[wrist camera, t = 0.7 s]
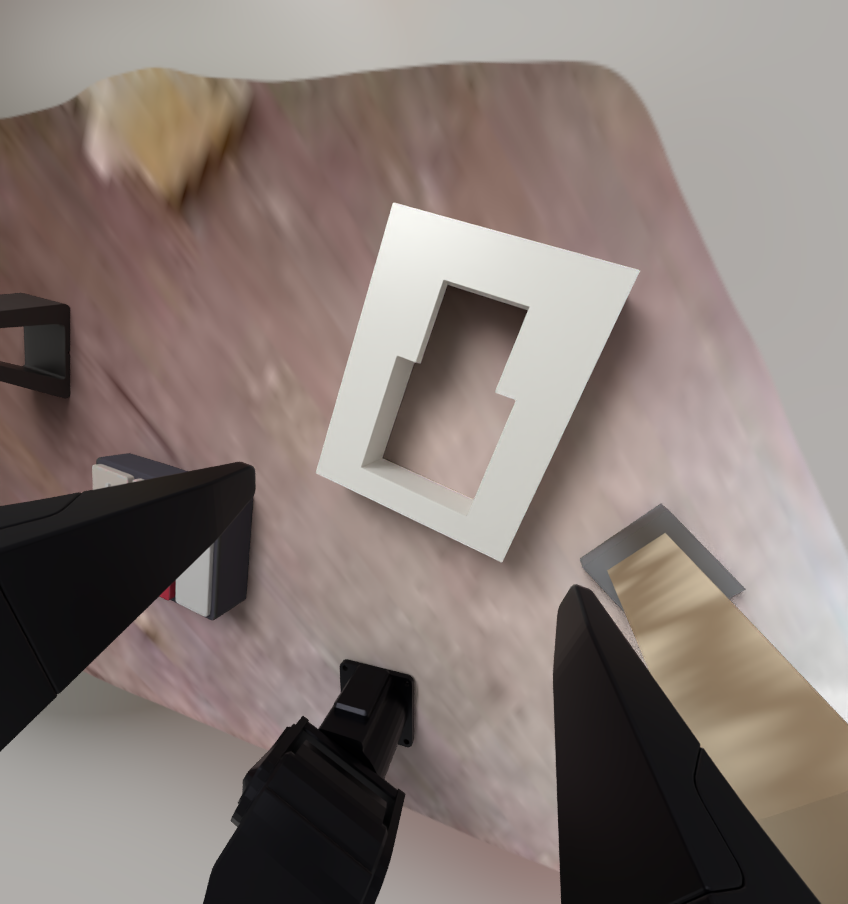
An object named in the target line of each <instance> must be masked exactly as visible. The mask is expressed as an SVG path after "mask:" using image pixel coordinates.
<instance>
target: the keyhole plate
mask: <svg viewBox="0 0 848 904" xmlns="http://www.w3.org/2000/svg"><path fill="white" fill-rule="evenodd" d="M639 271H640V270H637V269H633V268H630V267H626V266H623V265H619V264H615V263H612V262H608V261H604V260H601V259H597V258H593V257H590V256H586V255H582V254H579V253H575V252H572V251H568V250H564V249H561V248H557V247H553V246H550V245H546V244H542V243H539V242H535V241H532V240H528V239H524V238H521V237H517V236H513V235H510V234H506V233H502V232H499V231H495V230H491V229H488V228H484V227H481V226H477V225H473V224H470V223H466V222H462V221H459V220H455V219H451V218H448V217H444V216H440V215H437V214H433V213H430V212H426V211H422V210H419V209H415V208H411V207H408V206H404V205H400V204H397V203H393V205H392V209H391V212H390V216H389V219H388V223H387V226H386V230H385V233H384V236H383V240H382V243H381V247H380V250H379V254H378V257H377V261H376V264H375V268H374V271H373V275H372V278H371V282H370V285H369V289H368V292H367V296H366V299H365V303H364V306H363V310H362V313H361V317H360V320H359V324H358V327H357V331H356V334H355V338H354V341H353V345H352V348H351V352H350V355H349V359H348V362H347V366H346V369H345V373H344V376H343V380H342V383H341V387H340V390H339V394H338V397H337V401H336V404H335V408H334V411H333V415H332V418H331V422H330V425H329V429H328V432H327V436H326V439H325V443H324V446H323V450H322V453H321V457H320V460H319V464H318V467H317V471H316V473H317V474H319V475H321V476H323V477H325V478H327V479H329V480H331V481H334V482H336V483H338V484H340V485H342V486H344V487H346V488H348V489H350V490H352V491H354V492H356V493H358V494H361V495H363V496H365V497H367V498H369V499H371V500H373V501H375V502H377V503H379V504H381V505H383V506H385V507H388V508H390V509H392V510H394V511H396V512H398V513H400V514H402V515H404V516H406V517H408V518H410V519H412V520H414V521H417V522H419V523H421V524H423V525H425V526H427V527H429V528H431V529H433V530H435V531H437V532H439V533H441V534H444V535H446V536H448V537H450V538H452V539H454V540H456V541H458V542H460V543H462V544H464V545H466V546H468V547H471V548H473V549H475V550H477V551H479V552H481V553H483V554H485V555H487V556H489V557H491V558H493V559H495V560H498V561H500V562H503V559H504V557H505V555H506V553H507V551H508V549H509V547H510V545H511V543H512V540H513V538H514V536H515V534H516V532H517V530H518V528H519V526H520V523H521V521H522V519H523V517H524V515H525V513H526V511H527V509H528V507H529V504H530V502H531V500H532V498H533V496H534V494H535V492H536V490H537V487H538V485H539V483H540V481H541V479H542V477H543V475H544V473H545V471H546V468H547V466H548V464H549V462H550V460H551V458H552V456H553V454H554V451H555V449H556V447H557V445H558V443H559V441H560V439H561V437H562V435H563V432H564V430H565V428H566V426H567V424H568V422H569V420H570V418H571V415H572V413H573V411H574V409H575V407H576V405H577V403H578V401H579V399H580V396H581V394H582V392H583V390H584V388H585V386H586V384H587V382H588V379H589V377H590V375H591V373H592V371H593V369H594V367H595V365H596V363H597V360H598V358H599V356H600V354H601V352H602V350H603V348H604V346H605V343H606V341H607V339H608V337H609V335H610V333H611V331H612V329H613V327H614V324H615V322H616V320H617V318H618V316H619V314H620V312H621V310H622V307H623V305H624V303H625V301H626V299H627V297H628V295H629V293H630V291H631V288H632V286H633V284H634V282H635V280H636V278H637V276H638V274H639ZM447 285H450V286H453V287H456V288H460V289H463V290H466V291H469V292H472V293H475V294H478V295H482V296H485V297H488V298H491V299H494V300H497V301H500V302H504V303H507V304H510V305H513V306H516V307H519V308H522V309H526V310H528V312H527V314H526V317H525V319H524V322H523V324H522V327H521V329H520V332H519V334H518V337H517V339H516V341H515V344H514V346H513V349H512V351H511V354H510V356H509V359H508V361H507V364H506V366H505V369H504V371H503V374H502V376H501V378H500V381H499V383H498V386H497V388H496V391H495V392H496V393H498V394H501V395H504V396H506V397H509V398H511V399H514V400H516V402H515V404H514V406H513V409H512V411H511V413H510V416H509V418H508V420H507V423H506V425H505V428H504V430H503V432H502V435H501V437H500V439H499V442H498V444H497V446H496V449H495V451H494V453H493V456H492V458H491V461H490V463H489V465H488V468H487V470H486V472H485V475H484V477H483V479H482V482H481V484H480V486H479V489H478V491H477V494H476V496H475V498H474V499H472V498H470V497H468V496H466V495H463V494H461V493H459V492H457V491H454V490H452V489H450V488H448V487H446V486H443V485H441V484H439V483H437V482H434V481H432V480H430V479H428V478H426V477H423V476H421V475H419V474H417V473H414V472H412V471H410V470H408V469H406V468H403V467H401V466H399V465H397V464H394V463H392V462H390V461H388V460H386V459H383V455H384V452H385V449H386V446H387V443H388V440H389V437H390V434H391V431H392V428H393V425H394V422H395V419H396V416H397V413H398V410H399V407H400V404H401V401H402V398H403V395H404V392H405V389H406V386H407V383H408V380H409V377H410V374H411V371H412V368H413V365H414V362H416V363H420V364H421V361H422V358H423V355H424V352H425V349H426V346H427V343H428V341H429V338H430V335H431V332H432V329H433V326H434V323H435V320H436V317H437V314H438V311H439V308H440V305H441V302H442V299H443V297H444V294H445V291H446V288H447Z"/></svg>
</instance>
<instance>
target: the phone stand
mask: <svg viewBox="0 0 848 904" xmlns="http://www.w3.org/2000/svg"><path fill="white" fill-rule="evenodd" d="M22 326H24V346H25V365H24V366H18V365H14V364H10V363H6V362H2V361H0V381H2V382H6V383H9V384H13V385H17V386H21V387H24V388H28V389H32V390H35V391H39V392H43V393H47V394H50V395H54V396H58V397H62V398H68V397H70V355H69V354H68V351H70V308H69V306H68V305H66V304H63V303H59V302H55V301H51V300H47V299H44V298H40V297H36V296H32V295H28V294H24V293H14V294H2V295H0V328H7V327H22Z"/></svg>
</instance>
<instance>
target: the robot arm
mask: <svg viewBox="0 0 848 904" xmlns="http://www.w3.org/2000/svg"><path fill="white" fill-rule="evenodd" d="M255 489H256V485H255V469H254V467H253V466H251V465H249V464H246V463H243V462H235V463H230V464H225V465H220V466H214V467H209V468H204V469H199V470H194V471H188V472H183V473H178V474H173V475H167V476H162V477H157V478H152V479H147V480H141V481H136V482H131V483H126V484H120V485H115V486H110V487H105V488H100V489H94V490H89V491H84V492H82V493H79V492H78V493H73V494H68V495H63V496H58V497H52V498H46V499H41V500H35V501H30V502H24V503H17V504H11V505H5V506H0V751H1V750H2V749H3V748H4V747H5V746H7V744H9V743H10V742H11V741H12V740H13V739H14V738H15V737H16V736H17V735H18V734H19V733H20V732H21V731H22V730H23V729H24V728H25V727H26V726H27V725H28V724H29V723H30V722H31V721H32V720H33V719H34V718H35V717H36V716H37V715H38V714H39V713H40V712H41V711H42V710H43V709H44V708H45V707H47V705H48V704H50V703H51V702H52V701H53V700H54V699H55V698H56V697H57V694H59V693H60V692H62V691H63V690H64V689H65V688H66V687H67V686H68V685H69V684H70V683H71V682H72V681H73V680H74V679H75V678H76V677H77V676H78V675H79V674H80V673H81V672H82V671H83V670H84V669H85V668H86V667H87V666H88V665H89V664H90V663H91V662H92V661H93V660H94V659H95V658H96V657H97V656H98V655H99V654H100V653H102V652H103V651H104V650H105V649H106V648H107V647H108V646H109V645H110V644H111V643H112V642H113V641H114V640H115V639H116V638H117V637H118V636H119V635H120V634H121V633H122V632H123V631H124V630H125V629H126V628H127V627H128V626H129V625H130V624H131V623H132V622H133V621H134V620H135V619H136V618H137V617H138V616H139V615H140V614H141V613H143V612H144V611H145V610H146V609H147V608H148V607H149V606H150V605H151V604H152V603H153V602H154V601H155V600H156V599H157V598H158V597H159V596H160V595H161V594H162V593H163V592H164V591H165V590H166V589H167V588H168V587H169V586H170V585H171V584H172V583H173V582H174V581H175V580H176V579H177V578H178V577H179V576H180V575H181V574H182V573H183V572H185V571H186V570H187V569H188V568H189V567H190V566H191V565H192V564H193V563H194V562H195V561H196V560H197V559H198V558H199V557H200V556H201V555H202V554H203V553H204V552H205V551H206V550H207V549H208V548H209V547H210V546H211V545H212V544H213V543H214V542H215V541H216V540H217V539H218V538H219V537H220V536H221V535H222V533H223V532H224V531H225V530H226V529H227V528H228V526H229V525H230V524H231V523H232V522H233V520H234V519H235V518H236V517H237V516H238V514H239V513H240V512H241V511H242V510H243V509H244V507H245V506H246V505H247V504H248V503H249V501H250V500H251V499H252V498H253V496H254V494H255ZM346 666H347V667H346ZM406 681H407V682H408V683H407V682H406ZM340 685H341V693H340V695H339V696H338V698H337V699H336V701H335V703H334V705H333V707H332V708H331V710H330V712H329V713H328V715H327V716H326V718H325V719H324V721H323V723H322V724H321V726H320V727H319V729H317V728H316V727H315V726H313V725H312V724H311V723H309V722H308V721H309V720H308V719H307V718H305V717H304V716H302V717H301V719H300V720H299V721H298V722H297V724H296V725H295V724H293V725H292V726H291V727H286V729H285V730H284V732H283V733H282V734H281V736H280V737H279V738H278V740H277V741H276V742H275V744H274V745H273V746H272V747H271V749H270V750H269V751H268V752H267V753H266V754H265V755H264V756H263V757H262V758H261V759H260V760H259V761H258V762H257V763H256V764H255V765H254V766H253V767H252V768H251V769H250V770H249V771H248V773H247V774H246V776H245V778H244V779H243V793H242V796H241V798H240V800H239V802H238V804H239V805H238V807H237V808H236V810H235V812H234V814H233V816H232V819H231V822H232V823H234V824H235V825H236V826H237V827H238V828H237V829H236V831H235V832H234V834H233V836H232V837H231V839H230V840H229V842H228V843H227V845H226V847H225V848H224V850H223V851H222V853H221V854H220V856H219V858H218V859H217V861H216V863H215V864H214V866H213V868H212V872H211V874H210V878H209V882H208V886H207V890H206V894H205V898H204V902H203V904H375V902H376V899H377V896H378V894H379V891H380V889H381V886H382V884H383V881H384V878H385V875H386V872H387V869H388V866H389V863H390V860H391V856H392V852H393V847H394V843H395V838H396V834H397V829H398V825H399V820H400V816H401V811H402V807H403V802H404V798H405V793H404V792H402V791H401V790H400V789H398V790H397V789H396V788H394V787H393V786H392V785H391V784H389V783H388V782H387V781H385V780H384V779H385V776H386V773H387V771H388V768H389V766H390V763H391V760H392V758H393V755H394V752H395V750H396V747H397V745H402V746H405V747H411V746H412V743H413V740H414V680H413V678H412V677H411V676H410V675H408V674H404V673H400V672H396V671H391V670H387V669H383V668H379V667H375V666H371V665H367V664H363V663H359V662H355V661H351V660H347V659H345V660H343V662H342V663H341V664H340ZM553 696H554V723H555V750H556V777H557V804H558V831H559V858H560V884H561V885H560V886H561V904H821V902H820V901H819V900H818V899H817V897H816V896H815V895H814V894H813V892H812V891H811V890H810V888H809V887H808V886H807V885H806V883H805V882H804V881H803V880H802V878H801V877H800V876H799V874H798V873H797V872H796V871H795V869H794V868H793V867H792V866H791V864H790V863H789V862H788V860H787V859H786V858H785V857H784V855H783V854H782V853H781V852H780V850H779V849H778V848H777V846H776V845H775V844H774V842H773V841H772V840H771V839H770V837H769V836H768V835H767V833H766V832H765V831H764V829H763V828H762V827H761V826H760V824H759V823H758V822H757V820H756V819H755V818H754V816H753V815H752V814H751V813H750V811H749V810H748V809H747V807H746V806H745V805H744V803H743V802H742V801H741V799H740V798H739V796H738V795H737V794H736V792H735V791H734V790H733V788H732V787H731V785H730V784H729V783H728V781H727V780H726V779H725V777H724V776H723V775H722V773H721V772H720V770H719V769H718V768H717V766H716V765H715V763H714V762H713V761H712V759H711V758H710V756H709V755H708V753H707V752H706V751H705V749H704V748H702V747H700V742H699V741H698V740H697V738H696V737H695V735H694V734H693V732H692V731H691V730H690V728H689V727H688V725H687V724H686V723H685V721H684V720H683V718H682V717H681V716H680V714H679V713H678V711H677V710H676V709H675V707H674V706H673V704H672V703H671V701H670V700H669V699H668V697H667V696H666V694H665V693H664V692H663V690H662V689H661V687H660V686H659V685H658V683H657V682H656V680H655V679H654V677H653V676H652V675H651V673H650V672H649V670H648V669H647V668H646V666H645V665H644V663H643V662H642V661H641V659H640V658H639V656H638V655H637V653H636V652H635V651H634V649H633V648H632V646H631V645H630V644H629V642H628V641H627V639H626V638H625V637H624V635H623V634H622V632H621V631H620V629H619V628H618V627H617V625H616V624H615V622H614V621H613V620H612V618H611V617H610V615H609V614H608V613H607V611H606V610H605V608H604V607H603V605H602V604H601V603H600V601H599V600H598V598H597V597H596V596H595V594H594V593H593V592H592V591H591V590H590V589H588V588H585V587H583V586H580V585H577V584H575V585H573V586H571V588H570V589H569V591H568V593H567V594H566V596H565V597H564V599H563V601H562V602H561V604H560V606H559V609H558V614H557V626H556V639H555V652H554V665H553Z"/></svg>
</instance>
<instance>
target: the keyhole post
mask: <svg viewBox="0 0 848 904" xmlns="http://www.w3.org/2000/svg"><path fill="white" fill-rule="evenodd" d="M580 561H581V564H582V567H583V568H584V569H585V571H586V572H587V573H588V574H589V575H590V576H591V577H592V578H593V579H594V580H595V581H596V582H597V583H598V585H599V586H600V587H601V588H602V589H603V590H604V591H605V592H606V593H607V594H608V595H609V596H610V597H611V599H612V600H613V601H614V602H615V603H616V604H617V605H618V606H619V607H620V608H621V609H622V610H623V611H624V613H625V614H626V617H627V619H628V621H629V624H630V626H631V628H632V631H633V633H634V635H635V638H636V640H637V643H638V645H639V647H640V650H641V652H642V654H643V657H644V659H645V662H646V664H647V666H648V669H649V671H650V673H651V675H652V676H653V677H654V679H655V680H656V682H657V683H658V685H659V686H660V687H661V689H662V690H663V692H664V693H665V694H666V696H667V697H668V699H669V700H670V701H671V703H672V704H673V706H674V707H675V709H676V710H677V711H678V713H679V714H680V716H681V717H682V718H683V720H684V721H685V723H686V724H687V725H688V727H689V728H690V730H691V731H692V732H693V734H694V735H695V737H696V738H697V740H698V741H699V742H700V747H702V748H704V749H705V751H706V752H707V753H708V755H709V756H710V758H711V759H712V761H713V762H714V763H715V765H716V766H717V768H718V769H719V770H720V772H721V773H722V775H723V776H724V777H725V779H726V780H727V781H728V783H729V784H730V785H731V787H732V788H733V790H734V791H735V792H736V794H737V795H738V796H739V798H740V799H741V801H742V802H743V803H744V805H745V806H746V807H747V809H748V810H749V811H750V813H751V814H752V815H753V816H754V818H755V819H756V820H757V822H758V823H759V824H760V826H761V827H762V828H763V829H764V831H765V832H766V833H767V835H768V836H769V837H770V839H771V840H772V841H773V842H774V844H775V845H776V846H777V848H778V849H779V850H780V852H781V853H782V854H783V855H784V857H785V858H786V859H787V860H788V862H789V863H790V864H791V866H792V867H793V868H794V869H795V871H796V872H797V873H798V874H799V876H800V877H801V878H802V880H803V881H804V882H805V883H806V885H807V886H808V887H809V888H810V890H811V891H812V892H813V894H814V895H815V896H816V897H817V899H818V900H819V901H820V902H821V904H848V724H847V722H846V721H845V720H844V719H843V718H842V717H841V716H840V715H839V714H838V713H837V712H836V711H835V710H834V709H833V708H832V707H831V706H830V705H829V704H828V703H827V701H826V700H825V699H824V698H823V697H822V696H821V695H820V694H819V693H818V692H817V691H816V690H815V689H814V688H813V687H812V686H811V685H810V684H809V683H808V682H807V681H806V679H805V678H804V677H803V676H802V675H801V674H800V673H799V672H798V671H797V670H796V669H795V668H794V667H793V666H792V665H791V664H790V663H789V662H788V661H787V660H786V658H785V657H784V656H783V655H782V654H781V653H780V652H779V651H778V650H777V649H776V648H775V647H774V646H773V645H772V644H771V643H770V642H769V641H768V640H767V639H766V637H765V636H764V635H763V634H762V633H761V632H760V631H759V630H758V629H757V628H756V627H755V626H754V625H753V624H752V623H751V622H750V621H749V620H748V619H747V618H746V616H745V615H744V614H743V613H742V612H741V611H740V610H739V609H738V608H737V607H736V606H735V605H734V604H733V603H732V602H731V601H730V600H729V598H731V597H733V596H735V595H737V594H738V593H740V592H742V591H744V590H746V589H745V588H744V587H743V586H742V585H741V584H740V583H739V582H738V581H737V580H736V579H735V578H734V577H733V576H732V575H731V574H730V573H729V572H728V571H727V570H726V569H725V568H724V566H723V565H722V564H721V563H720V562H719V561H718V560H717V559H716V558H715V557H714V556H713V555H712V554H711V553H710V552H709V551H708V550H707V549H706V548H705V547H704V546H703V545H702V544H701V543H700V542H699V541H698V540H697V539H696V538H695V537H694V536H693V535H692V534H691V533H690V532H689V530H688V529H687V528H686V527H685V526H684V525H683V524H682V523H681V522H680V521H679V520H678V519H677V518H676V517H675V516H674V515H673V514H672V513H671V512H670V511H669V510H668V509H667V508H666V507H665V506H663V505H662V504H659V505H658V506H657V507H655V508H654V509H652V510H651V511H649V512H648V513H646V514H645V515H643V516H642V517H640V518H639V519H637V520H636V521H635V522H633V523H632V524H630V525H629V526H627V527H626V528H624V529H623V530H621V531H620V532H618V533H617V534H615V535H614V536H613V537H611V538H610V539H608V540H607V541H605V542H604V543H602V544H601V545H599V546H598V547H596V548H595V549H593V550H592V551H590V552H589V553H588V554H586V555H585V556H583V557H582V558H580Z"/></svg>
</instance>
